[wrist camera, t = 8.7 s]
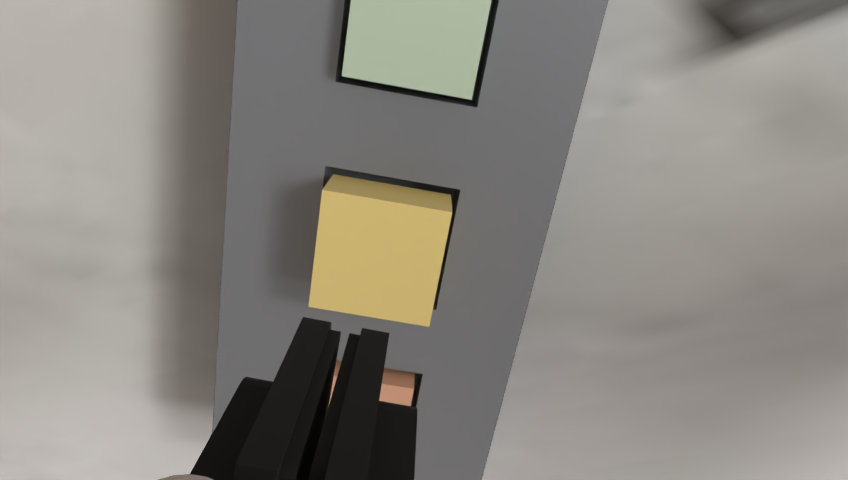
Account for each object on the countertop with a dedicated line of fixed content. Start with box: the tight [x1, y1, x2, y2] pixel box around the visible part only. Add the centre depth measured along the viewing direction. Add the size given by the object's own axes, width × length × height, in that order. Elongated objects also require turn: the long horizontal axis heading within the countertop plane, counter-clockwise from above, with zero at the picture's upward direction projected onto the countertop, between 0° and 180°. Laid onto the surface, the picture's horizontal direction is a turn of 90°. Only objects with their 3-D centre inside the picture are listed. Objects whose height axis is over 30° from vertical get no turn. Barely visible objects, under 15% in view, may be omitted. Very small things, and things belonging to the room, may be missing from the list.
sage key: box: [342, 0, 492, 100], centre depth 20 cm, size 4×4×2 cm
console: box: [212, 0, 608, 480], centre depth 24 cm, size 12×24×4 cm, turn 170°
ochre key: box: [308, 174, 452, 327], centre depth 21 cm, size 4×4×2 cm
